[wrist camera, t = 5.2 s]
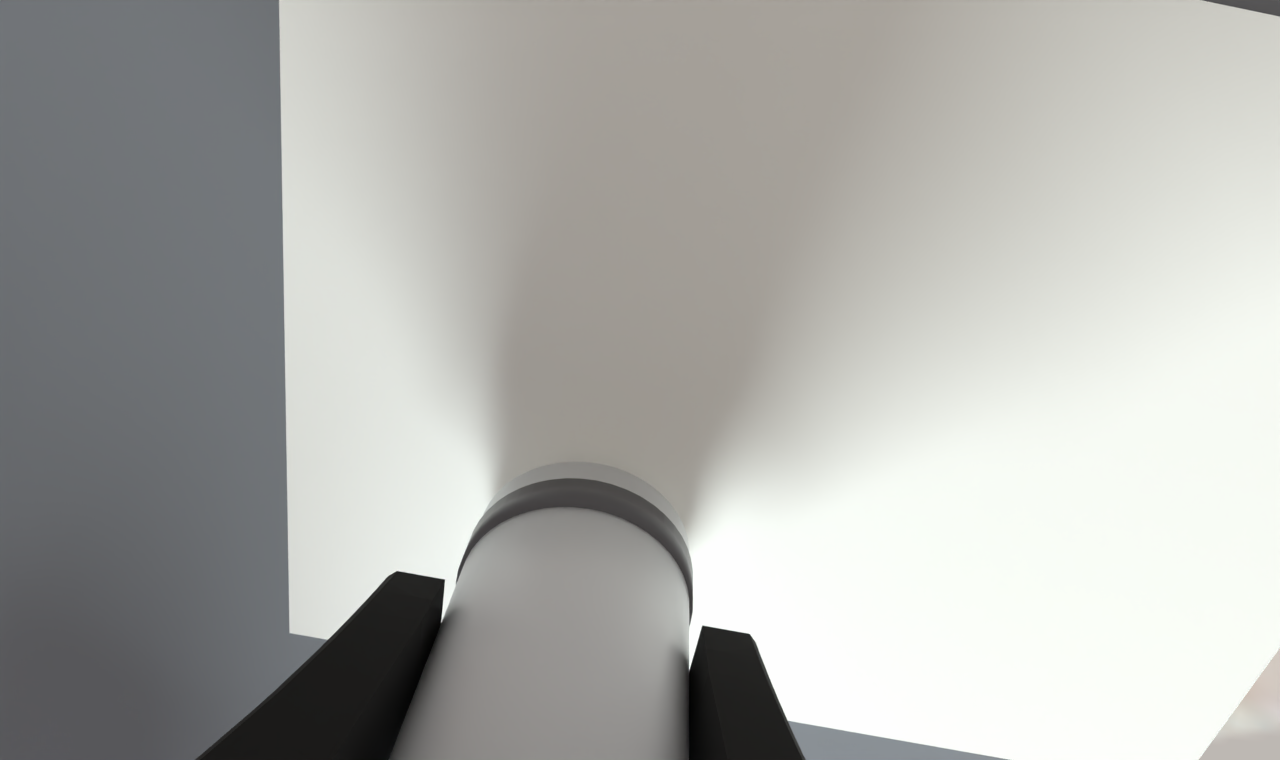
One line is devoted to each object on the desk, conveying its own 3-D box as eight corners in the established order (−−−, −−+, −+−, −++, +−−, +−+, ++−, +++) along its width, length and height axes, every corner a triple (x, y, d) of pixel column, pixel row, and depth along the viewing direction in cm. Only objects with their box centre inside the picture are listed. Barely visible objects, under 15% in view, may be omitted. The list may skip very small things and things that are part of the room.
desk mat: (1008, 988, 18) (1013, 1003, 18) (27, 825, 18) (17, 837, 17) (1808, -152, 9) (1844, -157, 8) (-328, -622, 8) (-365, -644, 8)
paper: (1172, 781, 15) (1177, 789, 15) (293, 626, 14) (289, 632, 14) (1661, 98, 9) (1677, 99, 9) (281, -190, 9) (275, -193, 9)
